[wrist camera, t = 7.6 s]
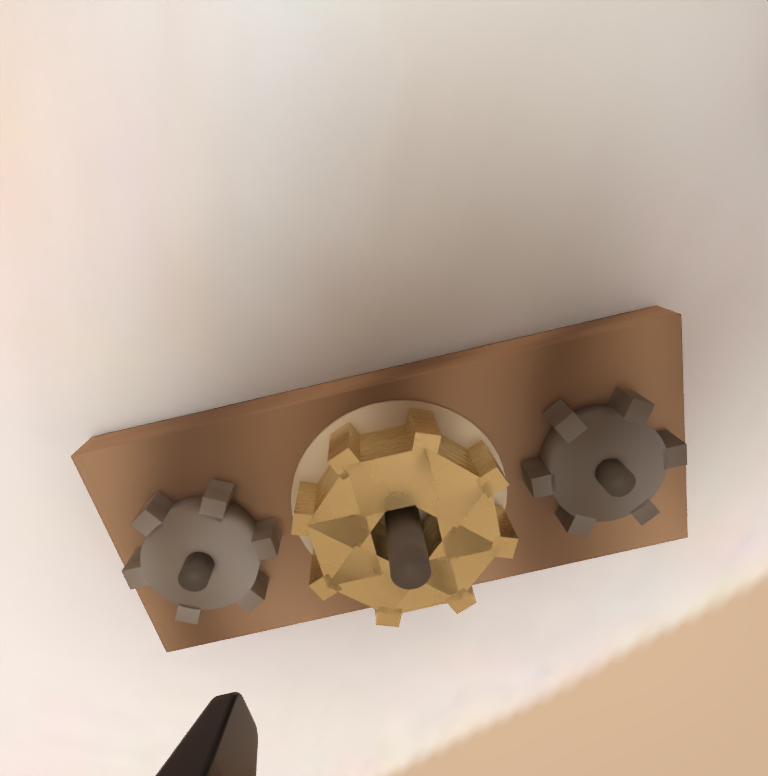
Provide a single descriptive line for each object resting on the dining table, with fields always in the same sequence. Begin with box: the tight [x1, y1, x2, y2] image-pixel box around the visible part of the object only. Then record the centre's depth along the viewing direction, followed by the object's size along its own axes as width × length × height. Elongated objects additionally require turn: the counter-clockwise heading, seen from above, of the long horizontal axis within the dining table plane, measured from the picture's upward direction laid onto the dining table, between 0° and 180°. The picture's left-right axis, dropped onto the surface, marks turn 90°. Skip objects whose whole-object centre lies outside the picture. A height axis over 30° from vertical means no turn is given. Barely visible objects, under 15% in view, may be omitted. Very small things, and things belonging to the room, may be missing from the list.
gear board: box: [71, 306, 688, 652], centre depth 18 cm, size 21×9×6 cm, turn 103°
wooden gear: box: [291, 408, 518, 627], centre depth 18 cm, size 7×7×2 cm
